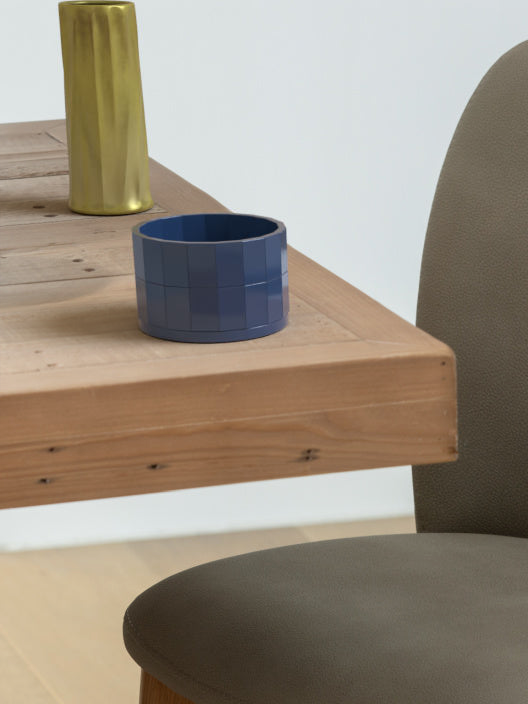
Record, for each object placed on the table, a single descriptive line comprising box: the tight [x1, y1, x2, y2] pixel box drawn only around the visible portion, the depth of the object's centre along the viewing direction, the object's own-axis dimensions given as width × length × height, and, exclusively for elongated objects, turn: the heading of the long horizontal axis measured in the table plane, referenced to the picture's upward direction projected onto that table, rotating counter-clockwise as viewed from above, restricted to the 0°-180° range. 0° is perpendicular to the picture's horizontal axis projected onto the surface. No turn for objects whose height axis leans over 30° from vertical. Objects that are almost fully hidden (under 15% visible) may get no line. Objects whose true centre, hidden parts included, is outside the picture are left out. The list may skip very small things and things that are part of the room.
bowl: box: [131, 212, 290, 344], centre depth 83 cm, size 8×8×5 cm
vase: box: [57, 0, 155, 216], centre depth 111 cm, size 6×6×14 cm
